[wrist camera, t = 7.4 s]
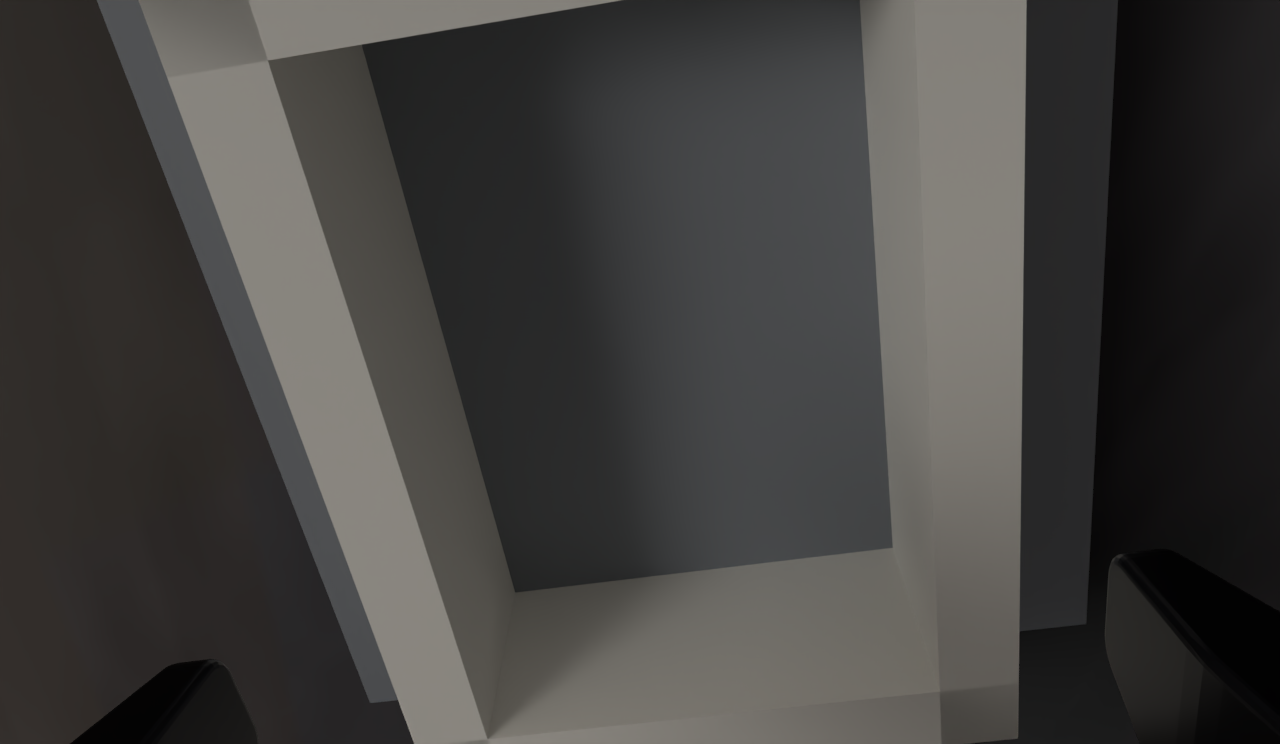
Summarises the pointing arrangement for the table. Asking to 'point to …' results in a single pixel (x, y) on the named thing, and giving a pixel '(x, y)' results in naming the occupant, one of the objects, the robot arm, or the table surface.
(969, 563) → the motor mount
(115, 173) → the table surface
